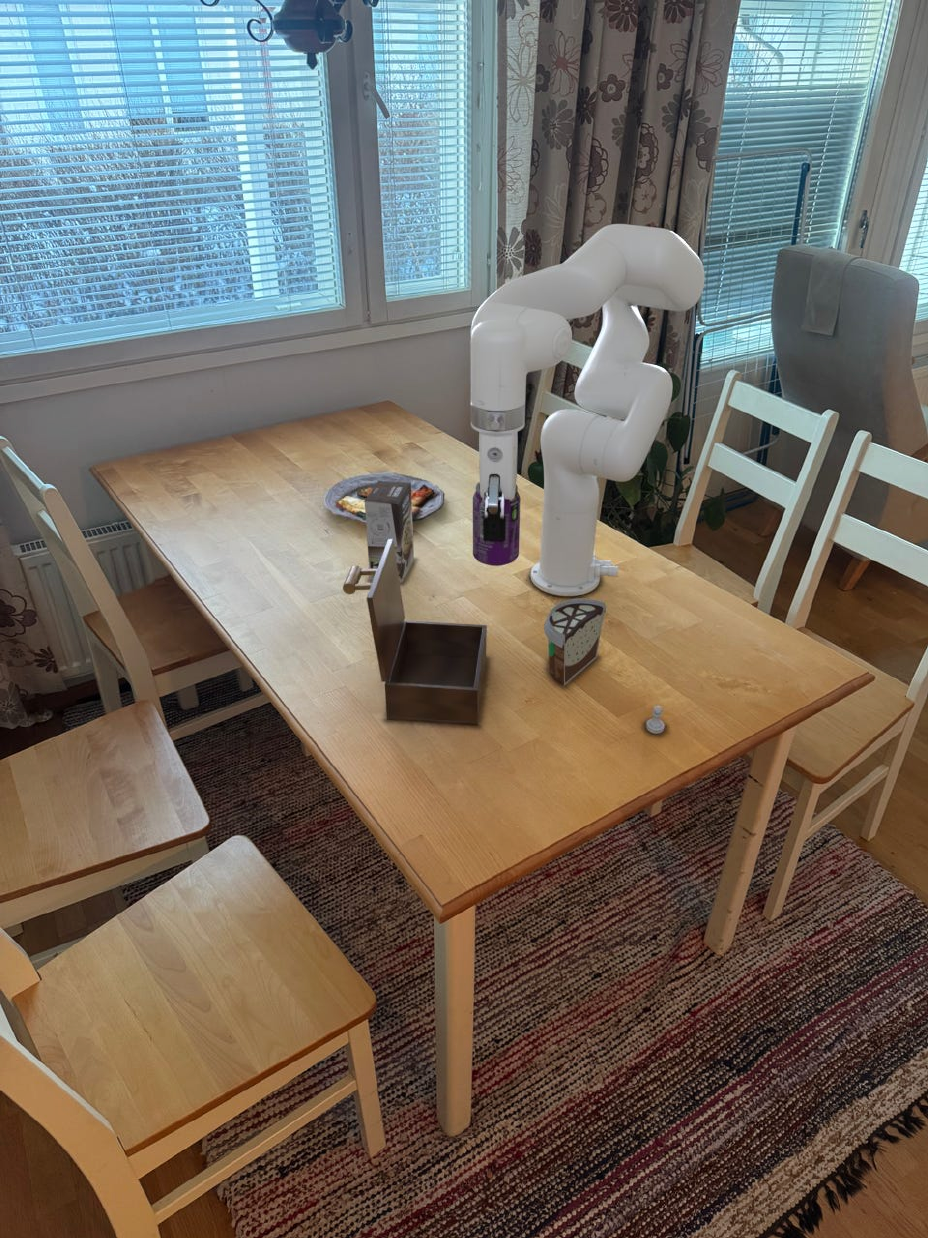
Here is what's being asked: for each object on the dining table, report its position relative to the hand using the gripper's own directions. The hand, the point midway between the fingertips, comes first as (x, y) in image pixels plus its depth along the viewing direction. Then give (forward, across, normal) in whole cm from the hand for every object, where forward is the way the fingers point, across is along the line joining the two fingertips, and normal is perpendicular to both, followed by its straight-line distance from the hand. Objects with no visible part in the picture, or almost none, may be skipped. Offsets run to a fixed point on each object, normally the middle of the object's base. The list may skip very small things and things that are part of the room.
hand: (496, 527), depth 128 cm
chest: (+21, -13, +8) cm, 26 cm away
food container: (+21, -5, -12) cm, 25 cm away
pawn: (+21, -19, -24) cm, 38 cm away
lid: (+7, -13, +14) cm, 21 cm away
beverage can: (+6, 0, 0) cm, 6 cm away
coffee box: (+21, +21, +20) cm, 36 cm away
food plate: (+22, +47, +26) cm, 58 cm away
